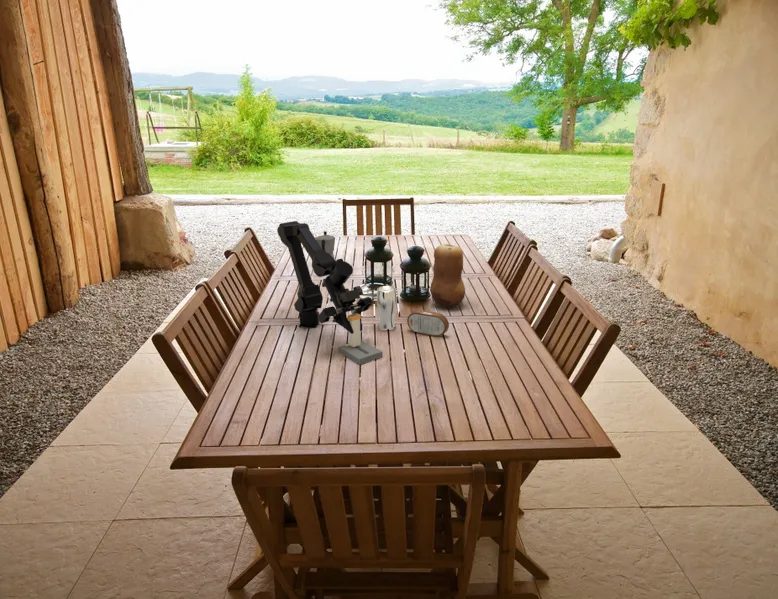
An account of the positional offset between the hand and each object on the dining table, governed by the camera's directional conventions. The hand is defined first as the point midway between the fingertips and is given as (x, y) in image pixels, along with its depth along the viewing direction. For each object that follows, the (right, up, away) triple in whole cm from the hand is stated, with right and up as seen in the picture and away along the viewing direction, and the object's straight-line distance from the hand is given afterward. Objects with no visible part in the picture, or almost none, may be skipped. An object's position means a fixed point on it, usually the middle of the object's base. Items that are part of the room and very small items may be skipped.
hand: (357, 332), depth 189 cm
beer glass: (+10, 0, +23) cm, 24 cm away
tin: (+24, -2, +17) cm, 29 cm away
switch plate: (+1, -7, +1) cm, 8 cm away
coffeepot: (-20, +26, +93) cm, 99 cm away
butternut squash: (+34, +8, +43) cm, 55 cm away
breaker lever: (-1, -4, +3) cm, 5 cm away
